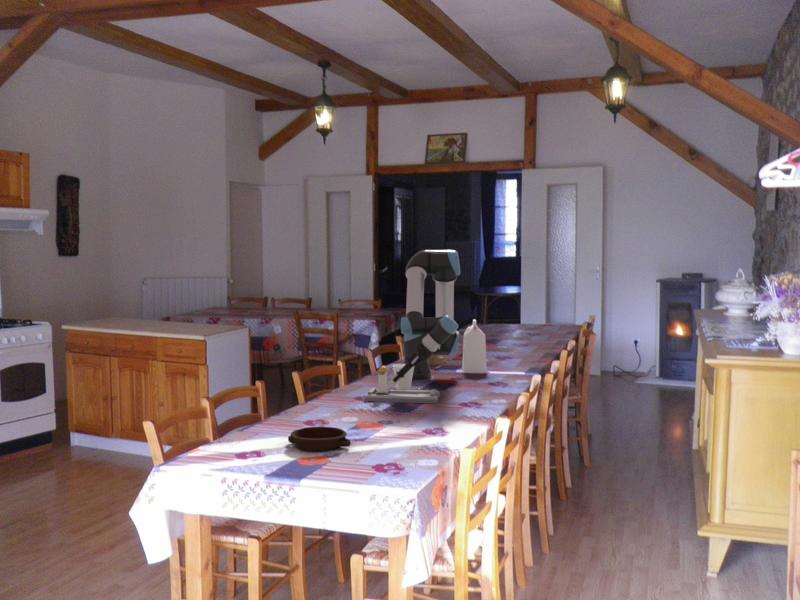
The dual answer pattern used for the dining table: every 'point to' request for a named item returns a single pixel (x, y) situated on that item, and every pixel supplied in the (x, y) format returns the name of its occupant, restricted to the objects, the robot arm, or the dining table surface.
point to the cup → (407, 380)
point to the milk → (474, 350)
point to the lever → (382, 381)
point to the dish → (319, 438)
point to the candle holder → (436, 360)
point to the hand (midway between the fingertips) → (389, 386)
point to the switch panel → (404, 396)
